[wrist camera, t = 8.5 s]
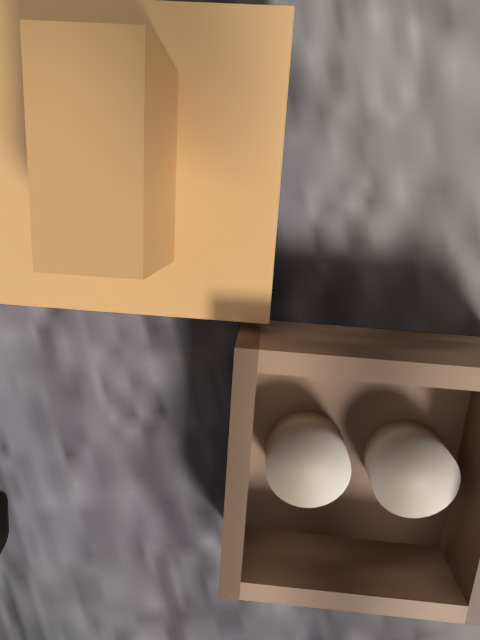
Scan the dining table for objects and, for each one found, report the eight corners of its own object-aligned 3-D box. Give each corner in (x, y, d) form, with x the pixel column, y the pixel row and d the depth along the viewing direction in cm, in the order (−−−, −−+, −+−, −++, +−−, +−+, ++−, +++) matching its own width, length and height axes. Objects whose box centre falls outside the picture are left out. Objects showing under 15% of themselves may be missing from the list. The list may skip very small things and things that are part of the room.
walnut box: (490, 337, 18) (550, 373, 14) (446, 547, 21) (486, 626, 17) (241, 318, 19) (234, 347, 15) (227, 525, 21) (218, 597, 17)
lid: (291, 28, 16) (304, -72, 10) (269, 312, 18) (268, 361, 12) (7, 15, 16) (-135, -87, 10) (23, 294, 18) (-84, 333, 13)
